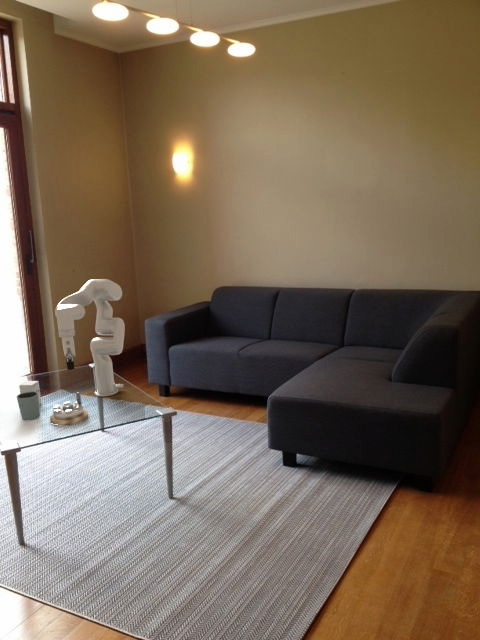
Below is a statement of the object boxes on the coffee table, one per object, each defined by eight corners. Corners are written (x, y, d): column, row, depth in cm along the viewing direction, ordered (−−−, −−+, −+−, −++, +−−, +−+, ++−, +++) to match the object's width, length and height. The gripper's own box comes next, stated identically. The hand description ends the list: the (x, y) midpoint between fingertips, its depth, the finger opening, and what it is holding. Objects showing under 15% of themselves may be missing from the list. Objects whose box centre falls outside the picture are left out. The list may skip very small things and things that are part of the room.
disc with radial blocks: (82, 407, 293) (79, 388, 291) (84, 416, 280) (82, 396, 278) (53, 412, 288) (50, 392, 286) (54, 421, 276) (52, 401, 273)
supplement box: (34, 408, 303) (31, 385, 300) (21, 408, 304) (18, 385, 301) (42, 403, 310) (38, 380, 307) (29, 403, 311) (26, 380, 308)
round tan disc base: (86, 409, 296) (85, 404, 295) (90, 421, 279) (89, 416, 279) (49, 415, 290) (48, 411, 290) (51, 428, 274) (50, 423, 273)
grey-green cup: (31, 422, 284) (28, 398, 281) (15, 420, 287) (11, 397, 285) (45, 414, 293) (42, 391, 290) (29, 412, 296) (25, 390, 294)
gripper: (75, 335, 271) (79, 370, 274) (73, 328, 287) (77, 362, 290) (59, 336, 269) (63, 372, 272) (58, 330, 285) (62, 364, 288)
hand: (70, 367), depth 281 cm, fingers open, 9 cm apart
